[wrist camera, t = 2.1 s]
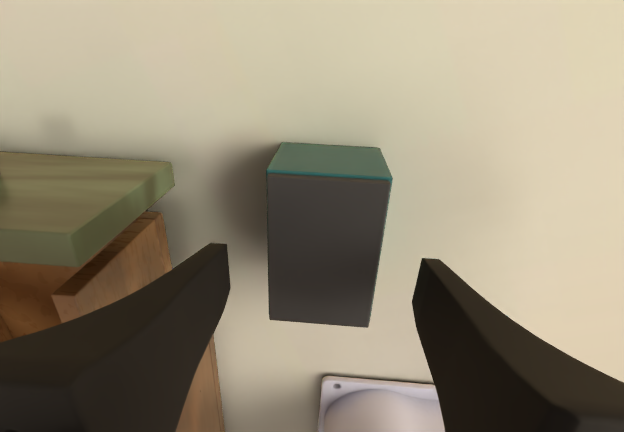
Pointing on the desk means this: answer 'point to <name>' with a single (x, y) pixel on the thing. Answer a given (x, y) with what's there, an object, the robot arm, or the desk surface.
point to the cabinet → (203, 398)
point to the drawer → (76, 236)
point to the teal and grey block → (325, 232)
